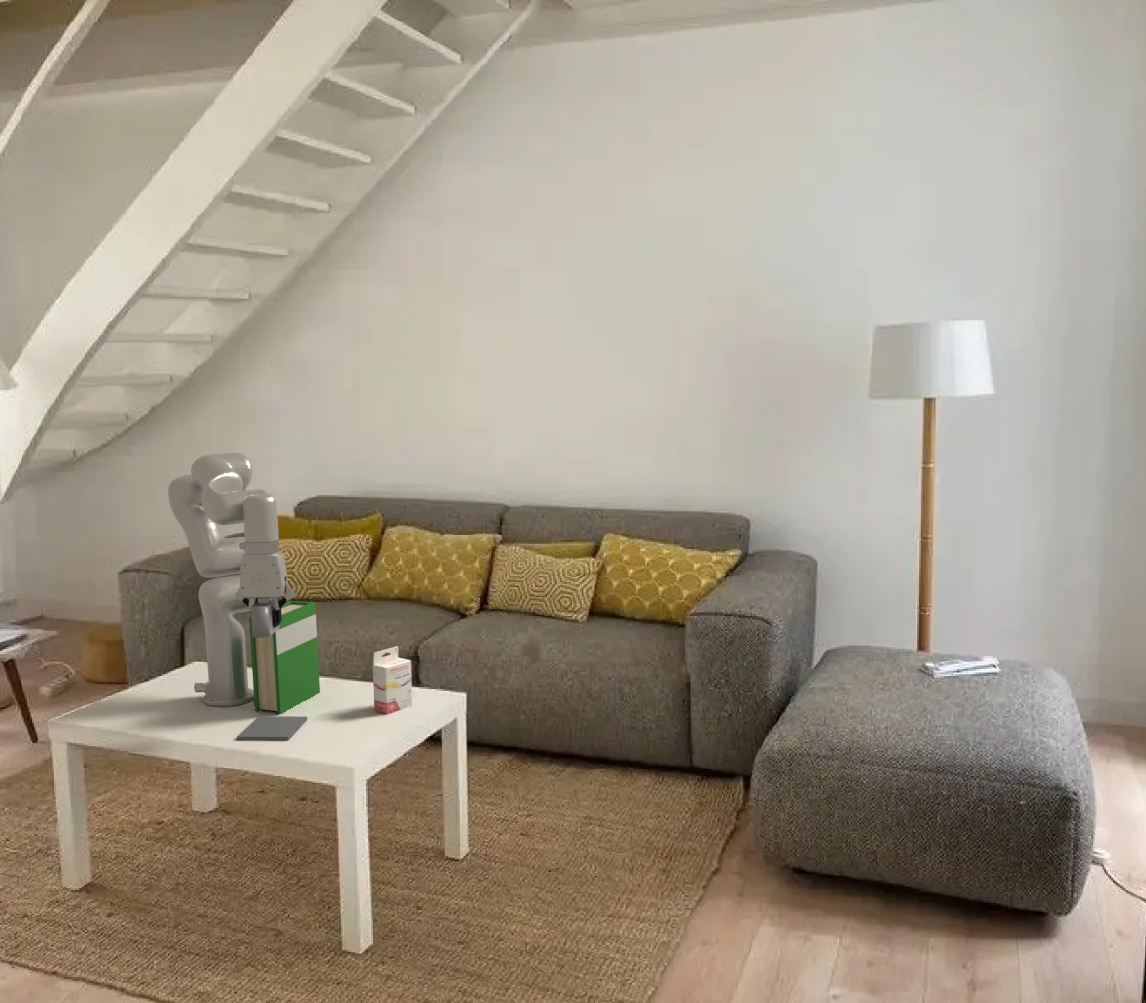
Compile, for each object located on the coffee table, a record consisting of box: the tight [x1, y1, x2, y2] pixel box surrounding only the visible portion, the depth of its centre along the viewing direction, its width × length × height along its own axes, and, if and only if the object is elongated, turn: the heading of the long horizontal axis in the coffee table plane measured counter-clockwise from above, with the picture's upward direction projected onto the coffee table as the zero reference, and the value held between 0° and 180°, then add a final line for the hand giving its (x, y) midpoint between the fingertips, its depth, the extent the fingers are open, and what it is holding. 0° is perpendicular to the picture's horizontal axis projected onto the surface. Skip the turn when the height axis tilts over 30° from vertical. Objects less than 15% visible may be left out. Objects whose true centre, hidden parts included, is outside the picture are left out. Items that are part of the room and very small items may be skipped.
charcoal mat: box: [236, 715, 308, 741], centre depth 268 cm, size 12×14×1 cm
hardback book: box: [248, 600, 321, 715], centre depth 287 cm, size 18×7×24 cm, turn 160°
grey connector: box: [250, 598, 279, 638], centre depth 264 cm, size 4×10×9 cm, turn 176°
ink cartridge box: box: [372, 645, 413, 715], centre depth 281 cm, size 9×5×15 cm, turn 141°
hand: (266, 624), depth 265 cm, fingers closed on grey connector, 4 cm apart
